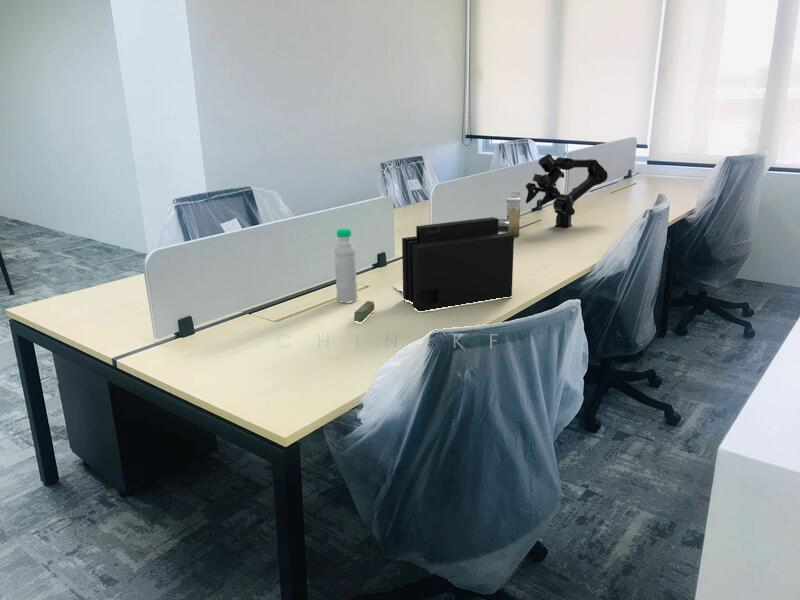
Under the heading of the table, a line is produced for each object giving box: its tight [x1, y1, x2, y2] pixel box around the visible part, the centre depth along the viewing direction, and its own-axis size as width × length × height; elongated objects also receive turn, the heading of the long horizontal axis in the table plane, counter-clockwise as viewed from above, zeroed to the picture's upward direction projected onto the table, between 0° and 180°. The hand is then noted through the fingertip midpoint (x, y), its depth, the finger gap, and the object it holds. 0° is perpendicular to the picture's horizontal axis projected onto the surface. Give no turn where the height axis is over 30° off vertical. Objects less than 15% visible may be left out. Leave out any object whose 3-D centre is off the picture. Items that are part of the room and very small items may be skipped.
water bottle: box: [333, 227, 358, 302], centre depth 226 cm, size 7×7×25 cm
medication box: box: [353, 300, 375, 322], centre depth 213 cm, size 12×3×4 cm, turn 163°
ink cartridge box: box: [506, 191, 521, 219], centre depth 344 cm, size 9×5×15 cm, turn 84°
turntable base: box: [498, 227, 508, 231], centre depth 330 cm, size 10×10×2 cm
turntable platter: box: [497, 218, 509, 227], centre depth 329 cm, size 13×13×1 cm
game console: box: [401, 216, 515, 311], centre depth 231 cm, size 35×30×27 cm
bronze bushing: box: [507, 208, 521, 238], centre depth 312 cm, size 5×5×13 cm
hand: (533, 204), depth 317 cm, fingers open, 9 cm apart
